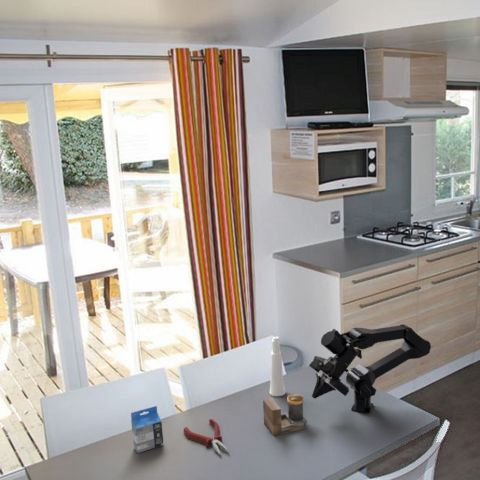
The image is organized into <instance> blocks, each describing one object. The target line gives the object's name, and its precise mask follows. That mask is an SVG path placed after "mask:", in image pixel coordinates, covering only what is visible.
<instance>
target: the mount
mask: <svg viewBox="0 0 480 480" xmlns="http://www.w3.org/2000/svg"><path fill="white" fill-rule="evenodd" d="M262 401H263V402H262V407H263V408H262V409H263V425H264V426H265V427H266V429H267V431H269V433H270V434H271V435H272V436H273V437H275V436H279V435H283V434H287V433H292V432H295V431H301V430H303V429H306V425H305V423H304V422H299V423H295V424H291V423H290V422H289V421H288V420H287V418H286V417H285V415H286V414H288V412H285V413H282V408H281V407H280V406H279V404H278V403H276V401H275V400H274V399H273V398H272V397H269V398H265V399H264V398H263V399H262Z"/></svg>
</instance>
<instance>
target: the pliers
mask: <svg viewBox="0 0 480 480" xmlns="http://www.w3.org/2000/svg"><path fill="white" fill-rule="evenodd" d="M208 421H209V422H208V423H209V425H211V426H212V428H213V429H214V435H213V438H212V437H209V436H206V435H202V434H199V433H195V432H193V431H191V430H190V429H189V428H188V427H187V426H185V427H183V434H184V435H185V436H186V437H187V438H188V439H190V440H192V441H194V442H197V443H200V444H204V445H205V447H206V448H209V447H212V448H213V450H214V451H215V452H216V453H217V455H219V456H220V457H222V454H221V451H222V452H226V453H227V454H230V451H229V449H228V448H227V447H226V446H225V444H223V437H222V436H221V435H220V426H219V424H218V423H217V422H216V421H215V420H214V419H213V418H210V419H209V420H208ZM220 450H221V451H220Z"/></svg>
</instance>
